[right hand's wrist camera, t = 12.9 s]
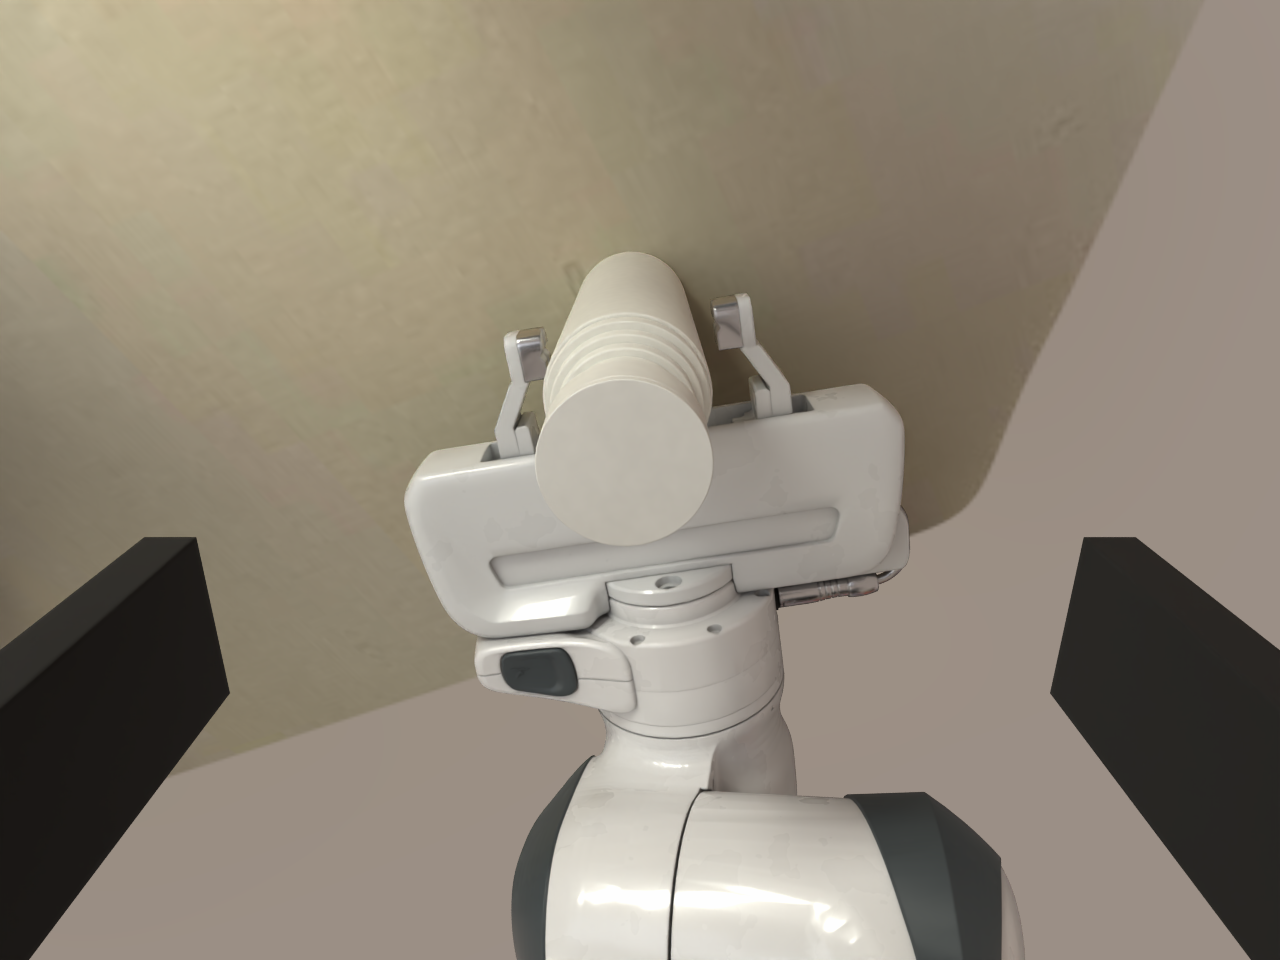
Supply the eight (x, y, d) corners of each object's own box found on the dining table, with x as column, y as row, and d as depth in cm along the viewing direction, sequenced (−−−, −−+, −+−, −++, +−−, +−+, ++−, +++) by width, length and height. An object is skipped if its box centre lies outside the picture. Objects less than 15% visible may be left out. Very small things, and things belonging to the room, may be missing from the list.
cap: (620, 324, 20) (618, 341, 18) (742, 436, 21) (751, 461, 19) (509, 444, 21) (498, 470, 20) (630, 545, 22) (629, 578, 21)
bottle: (628, 227, 37) (617, 309, 18) (709, 304, 38) (775, 455, 20) (554, 310, 39) (474, 465, 20) (635, 382, 40) (630, 592, 21)
